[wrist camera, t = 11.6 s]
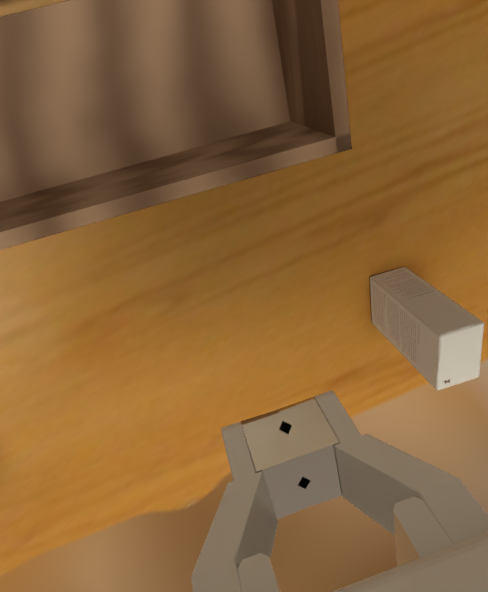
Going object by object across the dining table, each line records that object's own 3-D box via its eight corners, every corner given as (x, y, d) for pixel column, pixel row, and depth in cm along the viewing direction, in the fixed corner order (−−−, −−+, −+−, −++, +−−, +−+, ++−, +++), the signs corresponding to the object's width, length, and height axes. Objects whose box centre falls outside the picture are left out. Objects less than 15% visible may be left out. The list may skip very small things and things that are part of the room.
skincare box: (406, 312, 49) (480, 378, 38) (370, 322, 48) (436, 393, 38) (406, 263, 46) (486, 322, 35) (368, 274, 45) (438, 337, 35)
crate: (274, -47, 31) (329, -90, 22) (299, 128, 37) (351, 148, 28) (-104, 44, 29) (-205, 35, 20) (-11, 216, 35) (-57, 266, 26)
